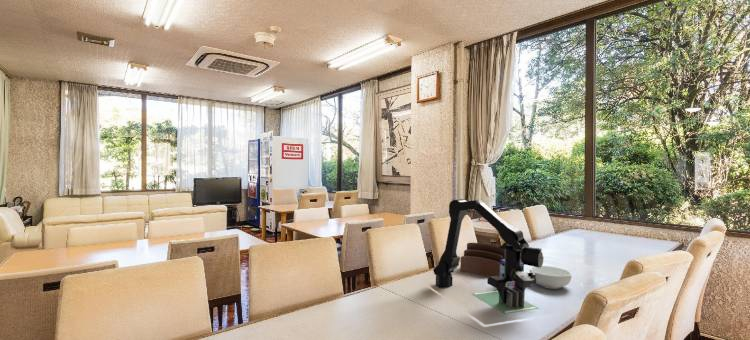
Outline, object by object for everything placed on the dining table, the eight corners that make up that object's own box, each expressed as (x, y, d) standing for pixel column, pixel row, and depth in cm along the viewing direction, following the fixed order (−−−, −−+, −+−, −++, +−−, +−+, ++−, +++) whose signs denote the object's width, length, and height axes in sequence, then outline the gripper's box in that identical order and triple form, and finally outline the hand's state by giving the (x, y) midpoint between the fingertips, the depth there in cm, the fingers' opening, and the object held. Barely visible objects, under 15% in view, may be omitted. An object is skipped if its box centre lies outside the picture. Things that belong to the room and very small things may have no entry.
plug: (510, 309, 130) (510, 293, 129) (498, 302, 136) (499, 287, 136) (524, 307, 132) (524, 291, 132) (512, 300, 138) (512, 285, 138)
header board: (504, 315, 126) (504, 306, 126) (471, 295, 144) (471, 287, 144) (539, 310, 131) (539, 301, 131) (502, 291, 150) (503, 284, 150)
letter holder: (466, 267, 186) (467, 240, 186) (505, 274, 175) (505, 246, 175) (459, 271, 178) (460, 244, 178) (499, 279, 167) (500, 250, 167)
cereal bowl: (561, 281, 166) (561, 266, 166) (578, 293, 149) (578, 277, 149) (524, 279, 168) (524, 264, 168) (536, 291, 151) (537, 275, 151)
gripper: (507, 270, 123) (506, 314, 123) (548, 266, 129) (547, 307, 129) (487, 261, 133) (485, 302, 133) (526, 258, 139) (524, 296, 140)
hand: (511, 302), depth 134 cm, fingers closed on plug, 6 cm apart
